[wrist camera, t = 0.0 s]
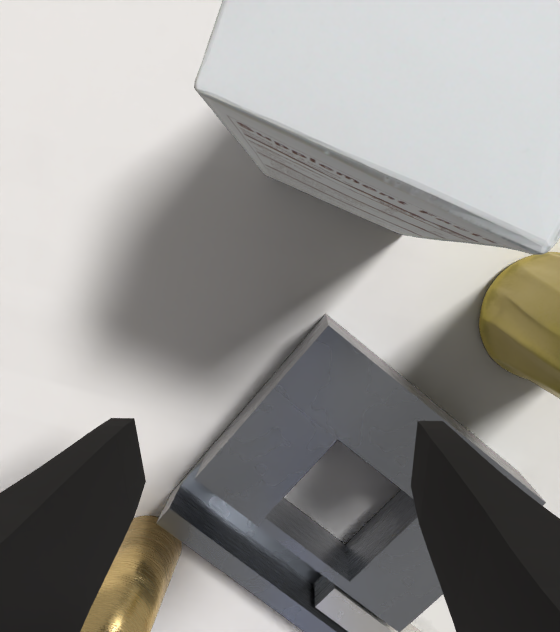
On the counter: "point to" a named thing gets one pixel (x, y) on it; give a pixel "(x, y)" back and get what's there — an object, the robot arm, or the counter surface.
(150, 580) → the gold cylinder
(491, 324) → the vase
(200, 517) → the socket
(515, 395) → the counter surface
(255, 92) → the supplement box
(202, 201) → the counter surface
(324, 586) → the lock pin
